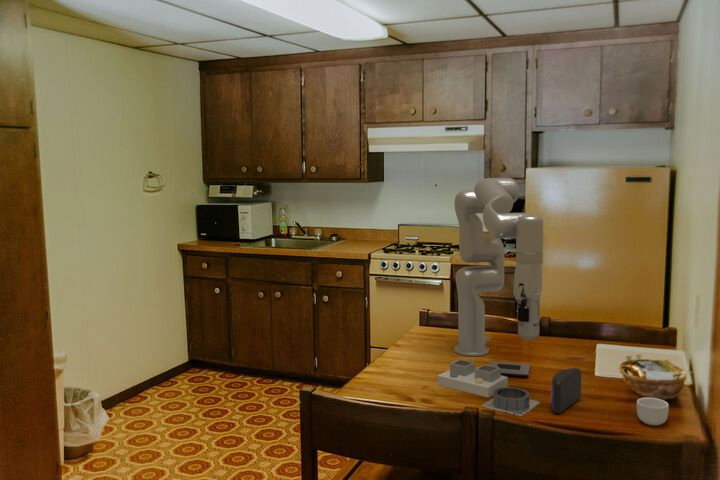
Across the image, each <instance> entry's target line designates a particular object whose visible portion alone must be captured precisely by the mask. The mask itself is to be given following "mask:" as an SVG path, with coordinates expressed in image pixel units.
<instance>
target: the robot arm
mask: <svg viewBox="0 0 720 480" xmlns="http://www.w3.org/2000/svg"><path fill="white" fill-rule="evenodd" d="M519 187H520V186H519V184H518V183H517V180H515V179H514V178H512V177H487V178H481V180H479V181H477V183H476V184H475V185H474V188H473V189H465V190H461V191H459V192H458V193H457V194H456V195H455V197H454V212H455V214H456V219H457V222H458V232H459V233H458V234H459V235H458V241H459V242H458V244H459V246H458V247H459V248H458V249H459V256H460V260H461V261H462V262H464V263H468V264H469V263H470V264H475V263H476V264H477V263H488V265H474V266H473V265H471V266H464V267H461V268H460V269H458V270H457V271H456V273H455V283H456V289H457V300H458V301H457V302H458V303H457V305H458V308H457V309H458V311H457V313H458V322H457V323H458V324H457V325H458V331H457V332H458V344H457V345H455V346H454V347H453V350H454V353H456V354H459V355H461V356H468V357H479V356H480V357H481V356H484V355H487V354H488V353H489V351H490V349H489V347H488V346H487V345H486V343H488V342H489V341H490V337H489V336H485V335H486V334H485V333H486V330H485V328H486V326H485V325H486V323H485V320H486V319H485V318H486V317H485V315H486V311H485V310H486V309H485V307H486V306H485V302H484V300H483V299H482V298H481V297H480V296H479V294H480V293H487V292H488V293H491V292H499V291H500V290H502V289H503V287H504V284H505V250H504V249H505V247H504V244H503V241H502V240H501V239H515V268H514V269H515V270H514V276H513V277H514V278H513V290H512V291H513V297H514V299H515V301H516V304H517V305H516V306H517V307H516V308H517V320H518V321H522V322H529V308H528V304H529V299H530V298H532V295H533V293H534V291H535V290H536V288H538V290H539V292H540V297H541V294H542V291H543V268H542V264H543V263H544V219H543V217H542V216H540V215H537V214H536V215H534V214H533V213H530V212H511V211H512V209H513V206H514V203H516V201H517V200H518V198H519V194H520V188H519ZM478 214H482V219H481V218H480V217H479V215H478ZM482 220H483V222H482ZM484 228H485V229H486V230H487V232H488V233H489V234H490V235H484ZM522 295H526V297H522ZM522 299H523V300H522ZM524 300H526V301H525V302H524ZM518 321H517V322H518Z"/></svg>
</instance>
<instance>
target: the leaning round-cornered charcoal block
mask: <svg viewBox="0 0 720 480" xmlns="http://www.w3.org/2000/svg"><path fill="white" fill-rule="evenodd" d="M551 382H552V383H551V387H552V388H551V389H552V390H551V392H550V394H551V409H552V412H554V413H555V414H557V415H558V414H561V413H563V412H564V411H565V410H566V409H569V407H570V406H572V405H573V404H574V403H575V402H577V401H578V400H579V399H580V398H581V395H582V371H581V369H580V368H578V367H571V368H567V369H563V370H559V371H558V372H557V373H555V374H554V375H553V377H552V381H551Z"/></svg>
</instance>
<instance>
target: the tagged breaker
mask: <svg viewBox="0 0 720 480" xmlns="http://www.w3.org/2000/svg"><path fill="white" fill-rule="evenodd" d="M495 369H496V368H491V367H487V366H484V367H482V368H480V369H479V370H484V371H488V372H492V371H493V370H495Z"/></svg>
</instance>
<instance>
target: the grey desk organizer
mask: <svg viewBox="0 0 720 480" xmlns="http://www.w3.org/2000/svg"><path fill="white" fill-rule="evenodd" d="M484 366H487V367H491V368H496V369H495V370H493V371H492V372H488V371H484V370H479V369H480V368H482V367H484ZM508 383H509V377H508V376H506V375H501V368H498V366H494V365H489V364H482V365H480V366H478V367H476V362H474V361H469V360H465V359H457V360H454V361H452V362H450V363H449V370H446V371H445V372H443V373H440V374H438V375H437V385H438V386H441V387H445V388H449V389H453V390H457V391H460V392H465V393H467V394H468V393H469V394H473V395H476V396H480V397H485V398H490V397H493V391H494V390H495V389H497V388H502V387H509V385H508Z"/></svg>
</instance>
